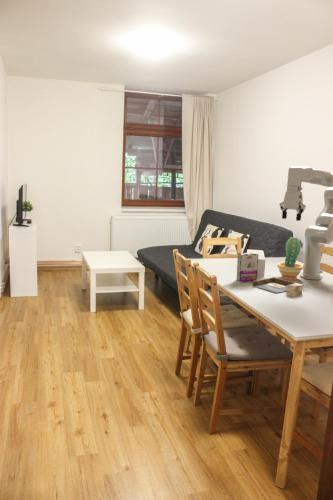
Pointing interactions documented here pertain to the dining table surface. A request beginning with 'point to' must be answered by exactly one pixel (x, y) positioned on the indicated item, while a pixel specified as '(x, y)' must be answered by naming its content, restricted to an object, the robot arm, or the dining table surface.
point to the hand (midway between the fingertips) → (291, 219)
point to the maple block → (294, 289)
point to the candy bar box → (247, 267)
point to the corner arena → (272, 284)
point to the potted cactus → (291, 259)
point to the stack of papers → (259, 261)
